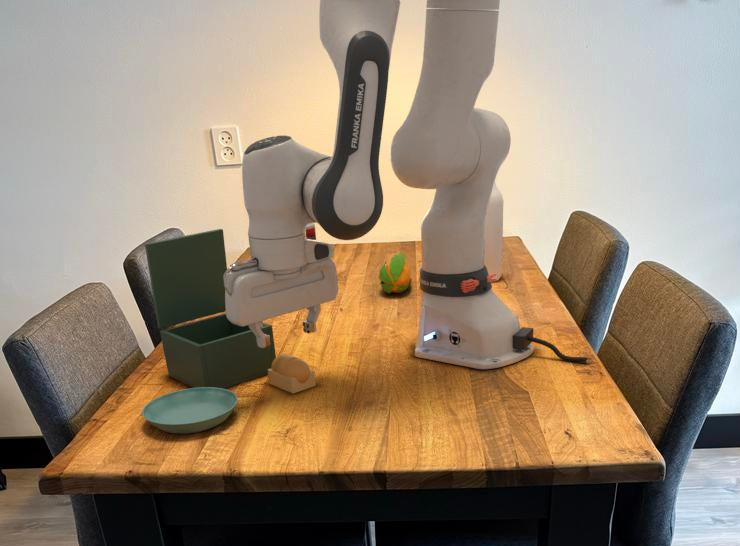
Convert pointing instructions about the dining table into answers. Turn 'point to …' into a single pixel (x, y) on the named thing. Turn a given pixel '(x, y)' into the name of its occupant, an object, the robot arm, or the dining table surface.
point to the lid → (187, 276)
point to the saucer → (190, 409)
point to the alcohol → (494, 234)
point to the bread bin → (216, 353)
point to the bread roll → (291, 374)
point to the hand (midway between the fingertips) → (287, 339)
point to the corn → (395, 275)
